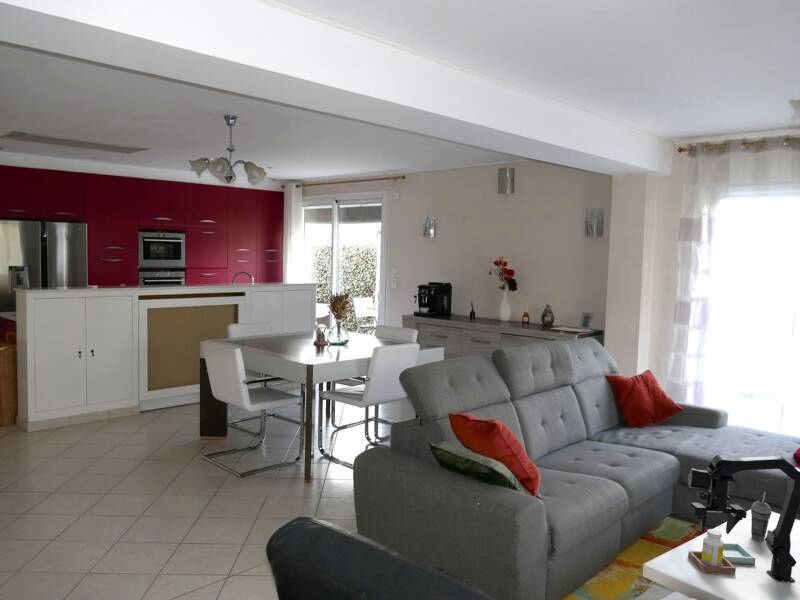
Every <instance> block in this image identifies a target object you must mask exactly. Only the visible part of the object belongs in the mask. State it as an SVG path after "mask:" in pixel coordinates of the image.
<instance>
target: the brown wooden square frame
mask: <svg viewBox="0 0 800 600" xmlns="http://www.w3.org/2000/svg"><path fill="white" fill-rule="evenodd" d="M687 558H688V560H690V561H691V562H692V563H693V564H694V565H695V567H696V568H697V569H699V570H700V572H701V573H702V574H703V575H704V574H705V575H706V574H707V575H708V574H710V575H728V576H729V575H733V576H734V575H736V569H737V568H736V566H734V565H733V564H731V563H730V562H729V561H728V560H727V559H726V558H724V557H722V566H705V565H704V564H703V563H702V562H701V559H702V551H700V550H699V551H698V550H695V551H694V550H688V555H687Z"/></svg>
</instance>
